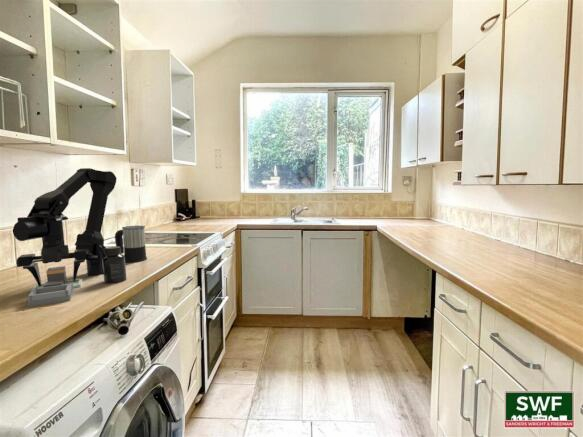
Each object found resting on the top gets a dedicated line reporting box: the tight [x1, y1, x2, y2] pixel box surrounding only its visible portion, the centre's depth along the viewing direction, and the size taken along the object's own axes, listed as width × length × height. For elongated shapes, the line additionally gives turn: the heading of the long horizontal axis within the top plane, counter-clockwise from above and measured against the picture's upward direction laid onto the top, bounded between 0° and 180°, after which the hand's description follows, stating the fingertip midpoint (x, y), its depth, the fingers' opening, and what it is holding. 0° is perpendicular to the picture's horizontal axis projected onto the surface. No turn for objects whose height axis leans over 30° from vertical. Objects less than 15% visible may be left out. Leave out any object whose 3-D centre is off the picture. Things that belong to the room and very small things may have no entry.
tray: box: [29, 277, 83, 294], centre depth 110 cm, size 9×13×1 cm
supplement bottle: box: [102, 245, 127, 285], centre depth 115 cm, size 7×7×12 cm
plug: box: [46, 265, 68, 284], centre depth 110 cm, size 5×5×6 cm
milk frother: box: [114, 225, 148, 263], centre depth 145 cm, size 14×16×15 cm
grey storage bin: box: [27, 280, 75, 308], centre depth 100 cm, size 12×10×4 cm
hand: (57, 283), depth 110 cm, fingers open, 9 cm apart
